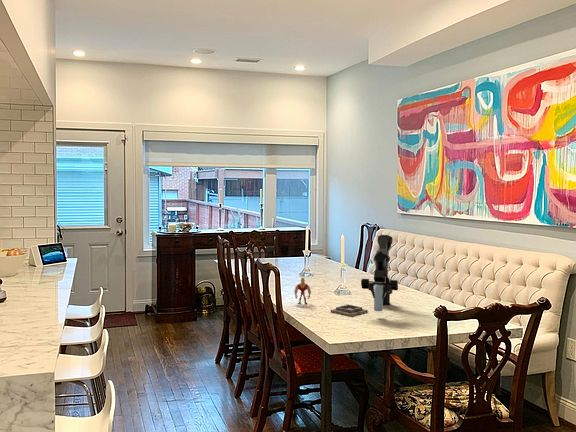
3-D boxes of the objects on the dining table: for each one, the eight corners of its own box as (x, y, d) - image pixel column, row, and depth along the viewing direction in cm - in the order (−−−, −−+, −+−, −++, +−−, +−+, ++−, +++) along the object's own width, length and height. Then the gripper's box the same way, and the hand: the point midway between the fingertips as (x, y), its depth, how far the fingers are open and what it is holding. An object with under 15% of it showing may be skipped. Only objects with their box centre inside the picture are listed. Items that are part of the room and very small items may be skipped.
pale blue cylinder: (380, 309, 294) (381, 284, 294) (384, 311, 290) (384, 285, 289) (372, 309, 294) (373, 284, 293) (375, 311, 289) (376, 286, 288)
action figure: (294, 304, 323) (294, 278, 322) (294, 302, 326) (294, 276, 326) (310, 304, 323) (311, 278, 322) (310, 303, 326) (311, 277, 325)
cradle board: (347, 308, 313) (347, 303, 313) (367, 312, 303) (367, 307, 303) (330, 312, 303) (330, 307, 303) (351, 316, 293) (351, 311, 293)
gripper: (361, 263, 296) (358, 288, 287) (398, 264, 292) (396, 290, 282) (363, 275, 305) (360, 300, 295) (398, 277, 300) (397, 302, 290)
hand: (378, 298), depth 290 cm, fingers closed on pale blue cylinder, 4 cm apart
